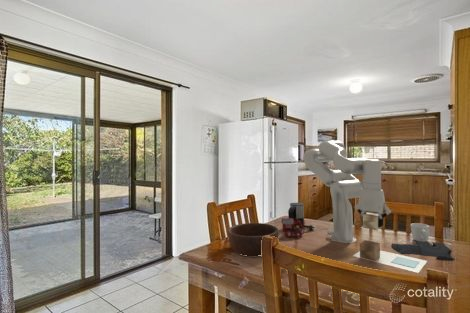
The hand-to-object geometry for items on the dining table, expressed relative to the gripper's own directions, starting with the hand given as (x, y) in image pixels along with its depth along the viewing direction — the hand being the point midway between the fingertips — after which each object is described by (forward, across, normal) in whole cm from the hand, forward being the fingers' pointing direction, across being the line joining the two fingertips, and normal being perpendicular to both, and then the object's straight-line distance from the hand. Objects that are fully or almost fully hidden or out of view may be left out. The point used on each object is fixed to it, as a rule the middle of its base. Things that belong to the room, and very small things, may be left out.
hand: (372, 225), depth 117 cm
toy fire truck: (+14, -41, -3) cm, 44 cm away
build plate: (+13, +8, -4) cm, 15 cm away
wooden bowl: (+14, -43, -34) cm, 56 cm away
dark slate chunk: (+13, +15, +15) cm, 25 cm away
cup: (+13, +12, +33) cm, 38 cm away
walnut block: (+12, +2, -8) cm, 14 cm away
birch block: (+1, 0, 0) cm, 1 cm away
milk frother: (+15, -47, +15) cm, 51 cm away
